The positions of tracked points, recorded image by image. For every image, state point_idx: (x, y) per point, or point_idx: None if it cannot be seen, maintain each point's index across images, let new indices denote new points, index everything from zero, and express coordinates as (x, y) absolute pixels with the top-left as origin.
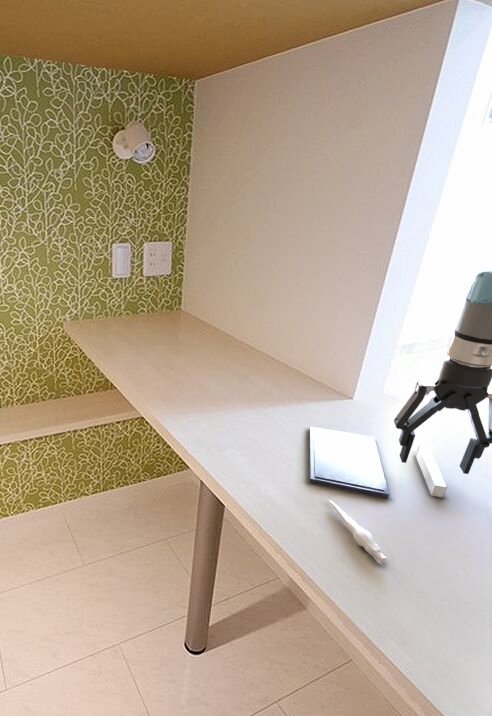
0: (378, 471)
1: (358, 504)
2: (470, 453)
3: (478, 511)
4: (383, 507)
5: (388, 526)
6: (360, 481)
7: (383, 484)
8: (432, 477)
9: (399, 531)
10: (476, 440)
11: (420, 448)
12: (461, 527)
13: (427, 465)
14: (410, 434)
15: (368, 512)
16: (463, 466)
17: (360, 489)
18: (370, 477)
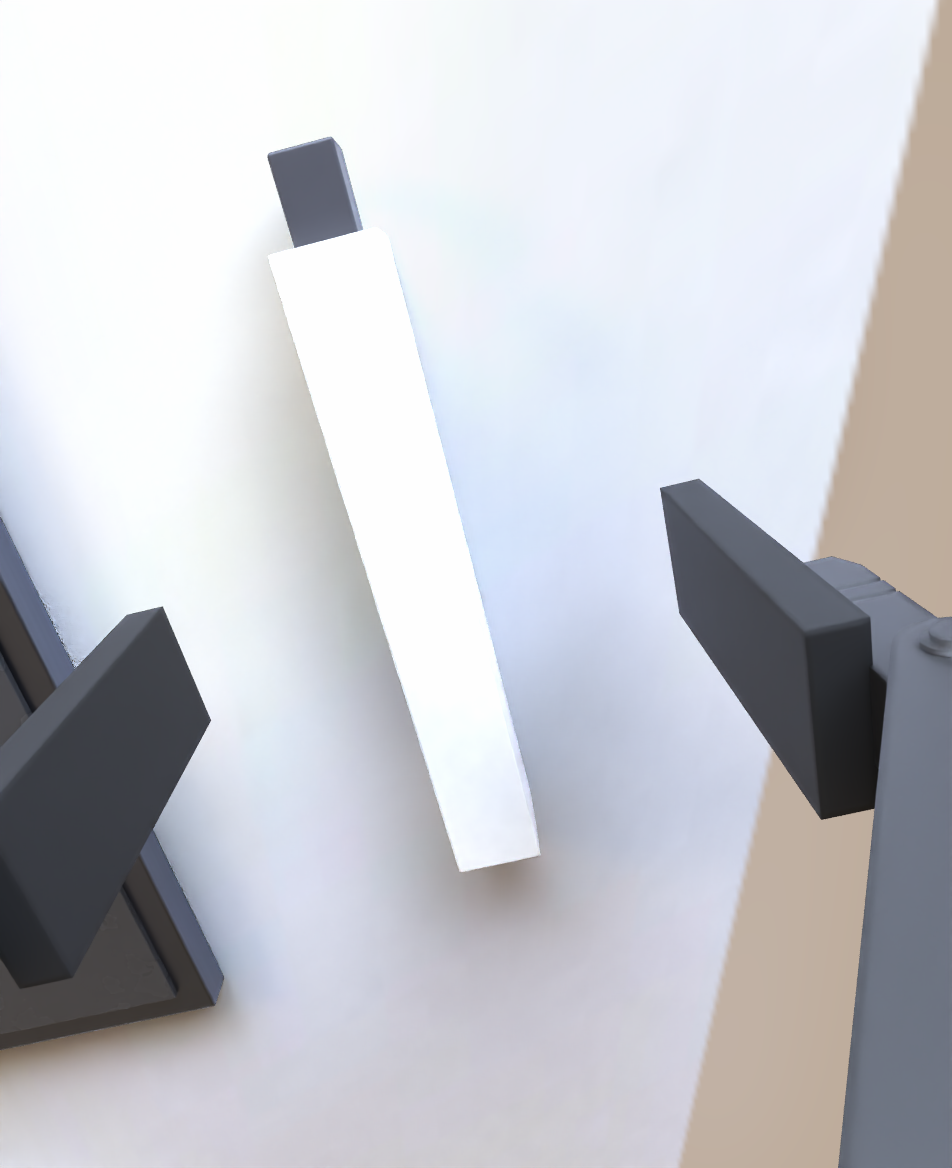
0: None
1: (102, 1095)
2: (754, 699)
3: (729, 818)
4: (224, 1053)
5: (281, 1160)
6: (17, 991)
7: (155, 930)
8: (437, 785)
9: (334, 1165)
10: (872, 683)
11: (284, 274)
12: (614, 1001)
13: (386, 620)
14: (15, 962)
15: (168, 1122)
16: (684, 580)
17: (53, 1036)
18: None
